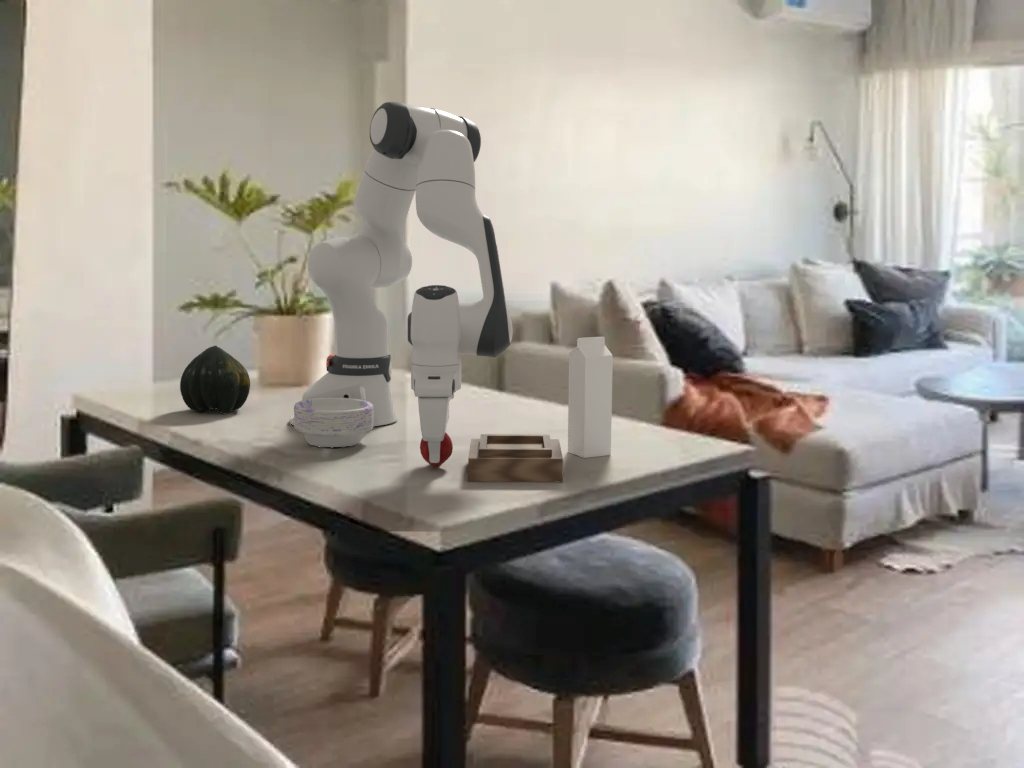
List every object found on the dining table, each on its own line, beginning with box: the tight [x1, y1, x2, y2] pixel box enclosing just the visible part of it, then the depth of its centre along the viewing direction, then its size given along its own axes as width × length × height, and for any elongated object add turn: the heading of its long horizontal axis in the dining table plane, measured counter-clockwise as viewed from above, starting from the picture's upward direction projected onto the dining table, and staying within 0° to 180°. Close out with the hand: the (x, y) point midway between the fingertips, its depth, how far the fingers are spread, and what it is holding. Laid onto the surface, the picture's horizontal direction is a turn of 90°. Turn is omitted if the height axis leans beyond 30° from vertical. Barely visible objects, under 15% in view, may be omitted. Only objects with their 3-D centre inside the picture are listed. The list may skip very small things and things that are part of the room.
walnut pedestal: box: [467, 433, 564, 483], centre depth 209 cm, size 16×16×5 cm
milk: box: [567, 336, 614, 459], centre depth 222 cm, size 6×6×22 cm
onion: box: [419, 431, 454, 469], centre depth 211 cm, size 6×6×8 cm
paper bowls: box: [293, 398, 374, 448], centre depth 230 cm, size 15×15×8 cm
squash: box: [179, 345, 251, 414], centre depth 263 cm, size 14×15×15 cm
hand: (436, 455), depth 211 cm, fingers open, 8 cm apart
